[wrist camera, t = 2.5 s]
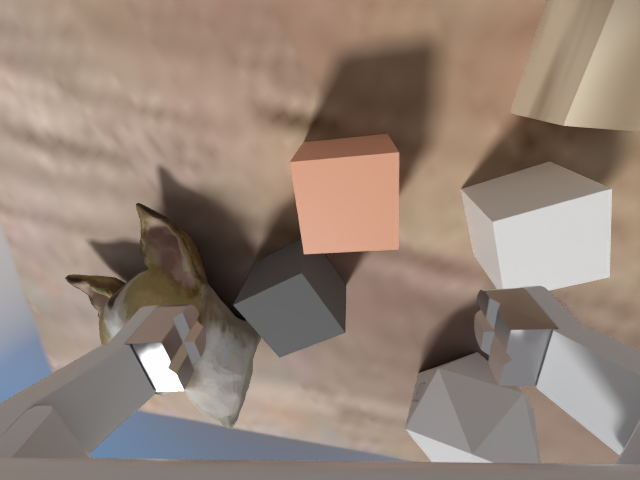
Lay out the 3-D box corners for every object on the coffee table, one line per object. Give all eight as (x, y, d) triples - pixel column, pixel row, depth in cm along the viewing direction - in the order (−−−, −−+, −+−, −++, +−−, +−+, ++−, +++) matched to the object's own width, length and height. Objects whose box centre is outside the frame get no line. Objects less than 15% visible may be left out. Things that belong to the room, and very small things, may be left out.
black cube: (311, 232, 22) (301, 273, 17) (346, 284, 24) (345, 332, 19) (255, 261, 23) (233, 305, 19) (291, 307, 25) (279, 357, 21)
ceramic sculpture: (172, 476, 22) (-26, 335, 18) (222, 375, 29) (92, 262, 26) (282, 425, 18) (63, 234, 14) (306, 325, 26) (169, 184, 22)
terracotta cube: (387, 133, 18) (399, 152, 14) (388, 212, 21) (398, 249, 16) (303, 141, 19) (289, 162, 15) (313, 217, 21) (303, 254, 17)
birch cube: (654, 7, 15) (784, -23, 10) (602, 119, 17) (690, 135, 13) (545, 0, 15) (627, -31, 10) (508, 112, 17) (563, 125, 13)
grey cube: (548, 161, 18) (612, 188, 14) (553, 233, 20) (609, 277, 16) (460, 188, 19) (492, 221, 15) (473, 254, 21) (504, 300, 17)
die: (406, 325, 26) (376, 464, 21) (537, 345, 20) (532, 542, 16) (438, 355, 31) (420, 472, 27) (550, 379, 25) (548, 532, 21)
